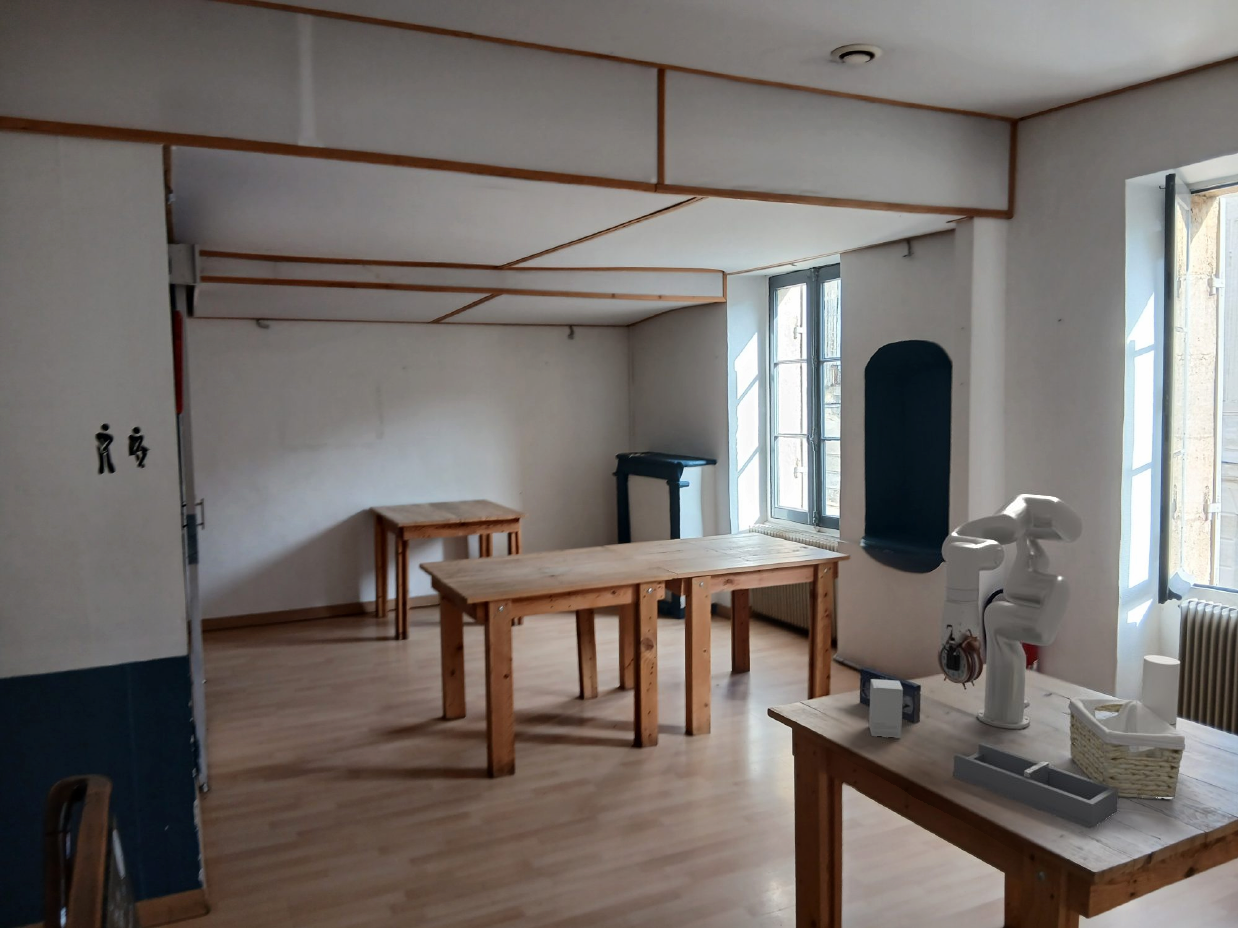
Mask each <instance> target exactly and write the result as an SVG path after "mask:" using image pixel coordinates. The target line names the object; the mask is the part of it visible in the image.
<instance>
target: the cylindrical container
mask: <svg viewBox="0 0 1238 928" xmlns="http://www.w3.org/2000/svg"><path fill="white" fill-rule="evenodd" d="M1142 665H1143V666H1142V667H1143V668H1142V684H1141V685H1142V686H1141V699H1140V703H1142V704H1143V705H1144V706H1146V707H1147V708H1148V709H1150V710H1151V711H1152V712H1153V713H1155V714H1156V715H1157V716H1159V717H1160V718H1161V719H1163V720H1164V721H1165V722H1167V723H1168V724H1169V725H1171V726H1172V727H1173V728H1175V729H1176V730H1177V721H1178V720H1177V719H1178V705H1179V703H1178V701H1179V700H1178V699H1179V685H1180V668H1181V661H1180V660H1178V659H1176V658H1173V657H1170V656H1164V655H1154V654H1149V655H1148V654H1147V655H1144V656H1143V663H1142Z"/></svg>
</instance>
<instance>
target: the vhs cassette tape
mask: <svg viewBox="0 0 1238 928" xmlns="http://www.w3.org/2000/svg"><path fill="white" fill-rule="evenodd" d="M859 671H860V672H859V673H860V674H859V676H860V678H859V704H861V705H863V706H866V707H869V708H870V686H871V679H878V680H895V681H900V684H901V686H902V689H903V700H902V720H903V719H904V721H906V720H907V722H909V723H911V722H912V723H911V724H916V723H918V722H920V720H921V694H922V693H921V692H922V691H921V690H922V686H921V684H918V683H915V682H912V681H909V680H906V679H903V678H900V677H898V676H895V675H894V676H893V675H890V674H888V673H884V672H881V671H879V670H876V669H875V670H874V669H871V668H868V667H862V668H860V670H859Z"/></svg>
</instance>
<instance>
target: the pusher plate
mask: <svg viewBox="0 0 1238 928" xmlns="http://www.w3.org/2000/svg"><path fill="white" fill-rule="evenodd" d="M1049 763H1050V762H1046V761H1041V762H1040V763H1039V764H1037V765H1035V766H1033V767H1031V768H1029V769H1027V770H1025V771H1024V777H1025V778H1028V779H1030V780H1033V781H1036V782H1039V783H1042V784H1044V785H1048V769H1049V766H1050V765H1049Z"/></svg>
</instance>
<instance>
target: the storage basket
mask: <svg viewBox="0 0 1238 928" xmlns="http://www.w3.org/2000/svg"><path fill="white" fill-rule="evenodd" d="M1068 709H1069V711H1070V721H1069V724H1070V725H1069V732H1070V736H1069V741H1070V747H1069V749H1070V750H1069V751H1070V757H1071V759H1072V760H1073V761H1074V762H1075V763H1076V764H1077V766H1079V767H1080V769H1081V770H1082V771H1083V772H1084V773H1085V774H1086V775H1087V776H1088V778H1089V779H1090V780H1093V781H1096V782H1099V783H1102V784H1105V785H1108V786H1111V787H1114V788H1117V789H1118V797H1122V798H1132V797H1137V798H1140V799H1143V798H1150V799H1153V798H1156V797H1157V798H1158V797H1174V798H1175V796H1176V789H1177V786H1178V785H1177V784H1178V782H1179V773H1180V767H1181V761H1182V758H1183V753H1184V751H1185V749H1186V744H1185V735H1183V734H1182V733H1181V732H1179V731H1178V730H1177V728H1176V729H1175V728H1173V727H1172V726H1171V725H1169V724H1168V723H1167V722H1165V721H1164V720H1163V719H1161V718H1160V717H1159V716H1157V715H1156V714H1155V713H1153V712H1152V711H1151V710H1150V709H1148V708H1147V707H1146V706H1144V705H1143V704H1142V703H1141V701H1140V700H1136V699H1119V698H1118V699H1117V698H1098V697H1077V696H1073V697H1071V698H1070V699H1069V703H1068ZM1096 711H1098V712H1106V713H1108V712H1109V713H1117V714H1116V715H1114V716H1112V715H1111V716H1109V717H1106V718H1103V719H1101V718H1100V719H1099V718H1097V717H1096ZM1142 797H1143V798H1142Z"/></svg>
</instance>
